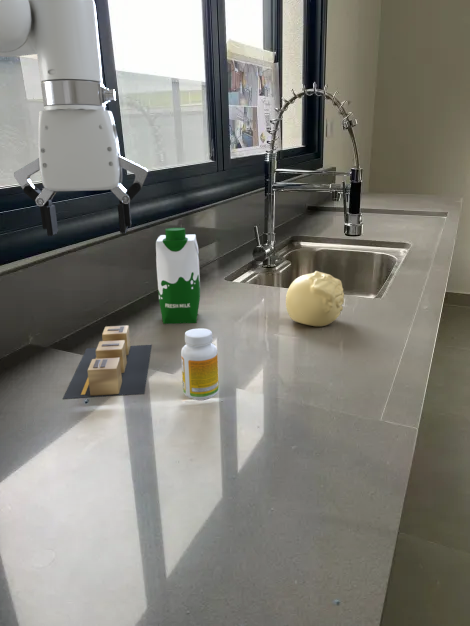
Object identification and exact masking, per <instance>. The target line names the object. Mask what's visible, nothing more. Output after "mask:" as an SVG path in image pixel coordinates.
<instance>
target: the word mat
mask: <svg viewBox="0 0 470 626" xmlns="http://www.w3.org/2000/svg"><path fill="white" fill-rule="evenodd" d="M152 346H153V345H152V344H141V345H140V344H138V345H130V350H129V354H128V355H126V358H127V364H126V368H125V372H124V373H121V376H122V384H121V388H120V392H119V394H111V395H95V396H91V395H90V387H89V379H88V371H87V370H88V368H89V366H90V363H91V361H92V359H97V358H96V349H97V347H87V348H86V349H85V351H84V353H83V355H82V357H81V359H80V362H79V363H78V366H77V368H76V370H75V372H74V374H73V376H72V378H71V380H70V382H69V385H68V387H67V389H66V391H65V392H64V395H63V397H62V400H72V399H73V400H75V399H91V398H106V397H107V398H108V397H120V396H139V395H145V393H146V385H147V379H148V372H149V366H150V358H151V354H152Z"/></svg>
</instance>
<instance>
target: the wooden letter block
mask: <svg viewBox="0 0 470 626" xmlns="http://www.w3.org/2000/svg"><path fill="white" fill-rule="evenodd" d="M96 348H97V349H96V358H97V359H103V358H120V366H121V373H124V372H125V368H126V364H127V358H126V348H125V340H117V341H103V340H100V341H99V342H98V344H97V347H96Z"/></svg>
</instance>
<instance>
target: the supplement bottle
mask: <svg viewBox="0 0 470 626" xmlns="http://www.w3.org/2000/svg"><path fill="white" fill-rule="evenodd" d="M184 342H185V345H184V346H182V347H181V351H180V359H181V377H182V393H183V394H184V396H186V397H187V398H189V399H193V400H195V401H202V400H203V401H205V400H209V399H210V398H212V397H214V396H216V395H217V394H218V393H219V390H220V389H219V387H220V385H219V361H218V360H219V359H218V358H219V357H218V356H219V355H218V347H217V346H216V345H215V344H214V343H213V332H212V330H211V329H209V328H203V327H199V328H198V327H197V328H192V329H191V328H190V329H189V330H186V331H185V332H184Z"/></svg>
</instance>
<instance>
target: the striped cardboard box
mask: <svg viewBox="0 0 470 626" xmlns="http://www.w3.org/2000/svg"><path fill="white" fill-rule="evenodd" d="M87 371H88V379H89V387H90V395H91V396H95V395H111V394H119V392H120V388H121V384H122V376H121V366H120V358H103V359H92V361H91V363H90V366H89V368H88V370H87Z"/></svg>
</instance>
